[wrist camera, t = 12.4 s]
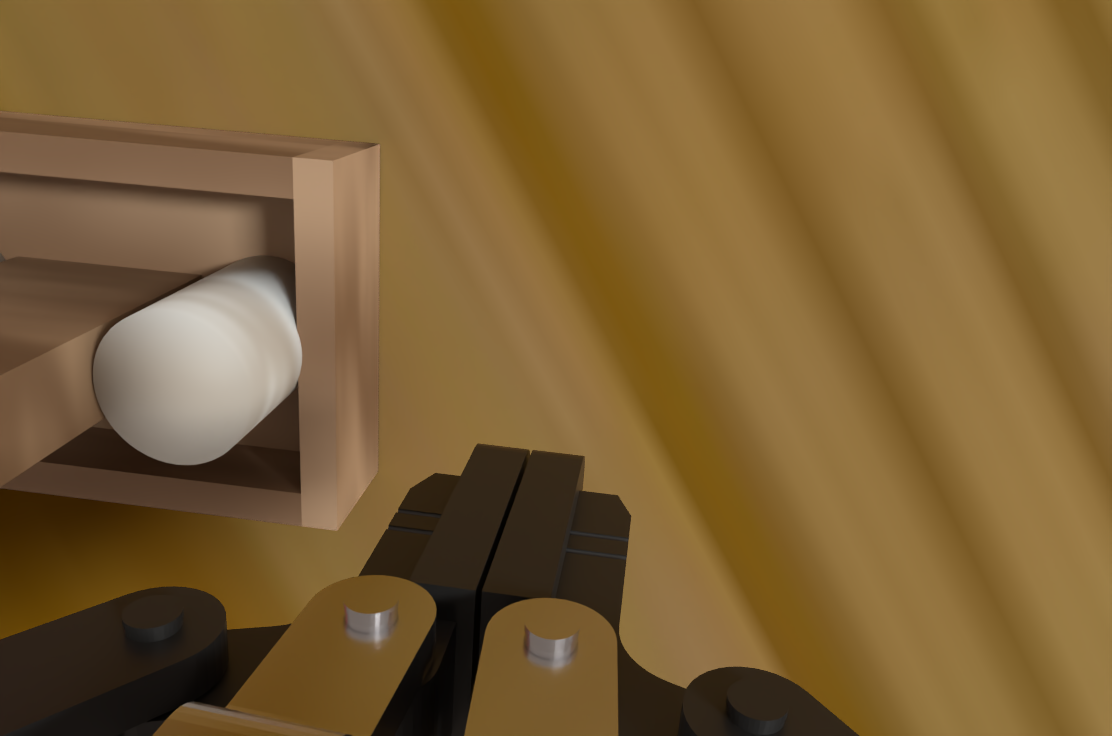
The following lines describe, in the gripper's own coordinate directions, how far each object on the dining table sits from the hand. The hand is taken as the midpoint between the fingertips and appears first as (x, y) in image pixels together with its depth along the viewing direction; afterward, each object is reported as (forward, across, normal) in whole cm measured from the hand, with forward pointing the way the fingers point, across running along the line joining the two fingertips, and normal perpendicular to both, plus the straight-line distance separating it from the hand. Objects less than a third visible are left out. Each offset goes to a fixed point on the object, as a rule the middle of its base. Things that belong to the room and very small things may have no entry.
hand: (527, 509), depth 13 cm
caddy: (+9, +11, 0) cm, 14 cm away
